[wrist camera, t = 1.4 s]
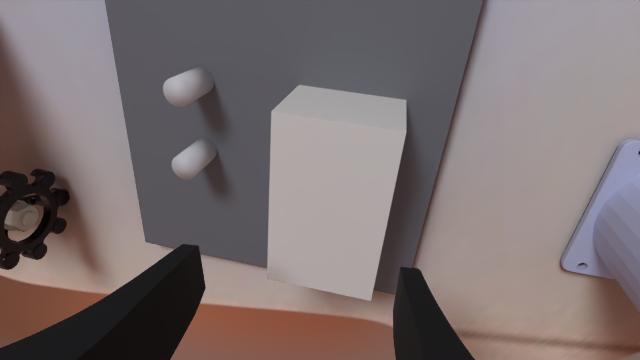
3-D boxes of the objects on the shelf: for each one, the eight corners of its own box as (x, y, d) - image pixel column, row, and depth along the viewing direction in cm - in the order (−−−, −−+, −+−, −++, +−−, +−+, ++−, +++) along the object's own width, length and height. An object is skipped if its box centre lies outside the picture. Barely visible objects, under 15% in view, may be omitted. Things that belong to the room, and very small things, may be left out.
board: (485, -23, 16) (502, -25, 13) (404, 285, 25) (403, 327, 22) (108, -59, 19) (51, -67, 16) (153, 233, 27) (122, 265, 24)
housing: (298, 84, 19) (271, 111, 15) (406, 99, 18) (406, 132, 14) (290, 229, 23) (266, 278, 20) (377, 246, 23) (370, 300, 19)
